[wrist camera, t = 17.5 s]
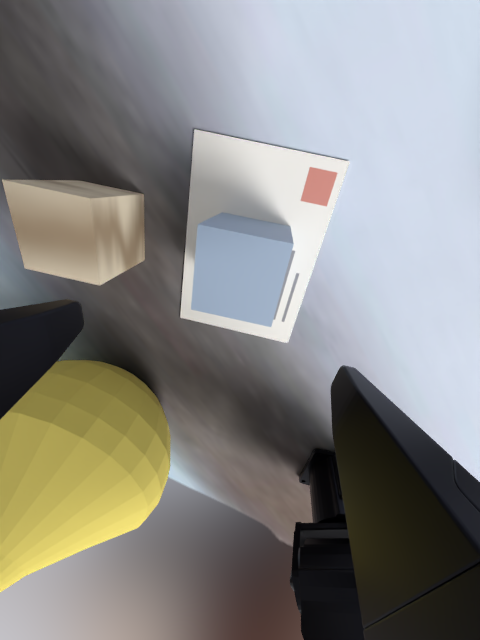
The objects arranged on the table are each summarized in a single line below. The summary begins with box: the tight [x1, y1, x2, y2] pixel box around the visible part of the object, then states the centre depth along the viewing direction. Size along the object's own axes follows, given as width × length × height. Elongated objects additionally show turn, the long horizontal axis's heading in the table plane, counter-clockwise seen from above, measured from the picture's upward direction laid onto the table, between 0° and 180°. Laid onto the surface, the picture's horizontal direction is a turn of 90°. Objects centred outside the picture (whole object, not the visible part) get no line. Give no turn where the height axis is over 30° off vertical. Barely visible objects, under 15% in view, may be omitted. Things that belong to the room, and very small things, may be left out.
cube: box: [191, 212, 294, 327], centre depth 17 cm, size 5×5×6 cm
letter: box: [180, 129, 350, 343], centre depth 19 cm, size 14×10×1 cm
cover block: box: [2, 180, 145, 285], centre depth 17 cm, size 5×5×6 cm
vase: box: [0, 360, 170, 592], centre depth 21 cm, size 18×18×19 cm
